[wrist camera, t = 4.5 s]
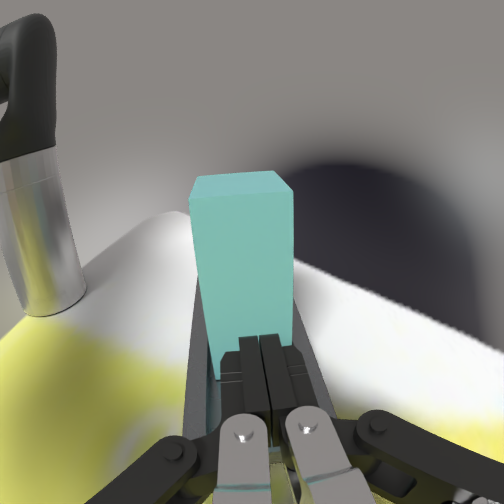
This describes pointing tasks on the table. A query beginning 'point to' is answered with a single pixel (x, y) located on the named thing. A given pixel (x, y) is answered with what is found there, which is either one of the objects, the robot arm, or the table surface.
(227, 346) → the teal block
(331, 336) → the table surface
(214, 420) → the charcoal chute
